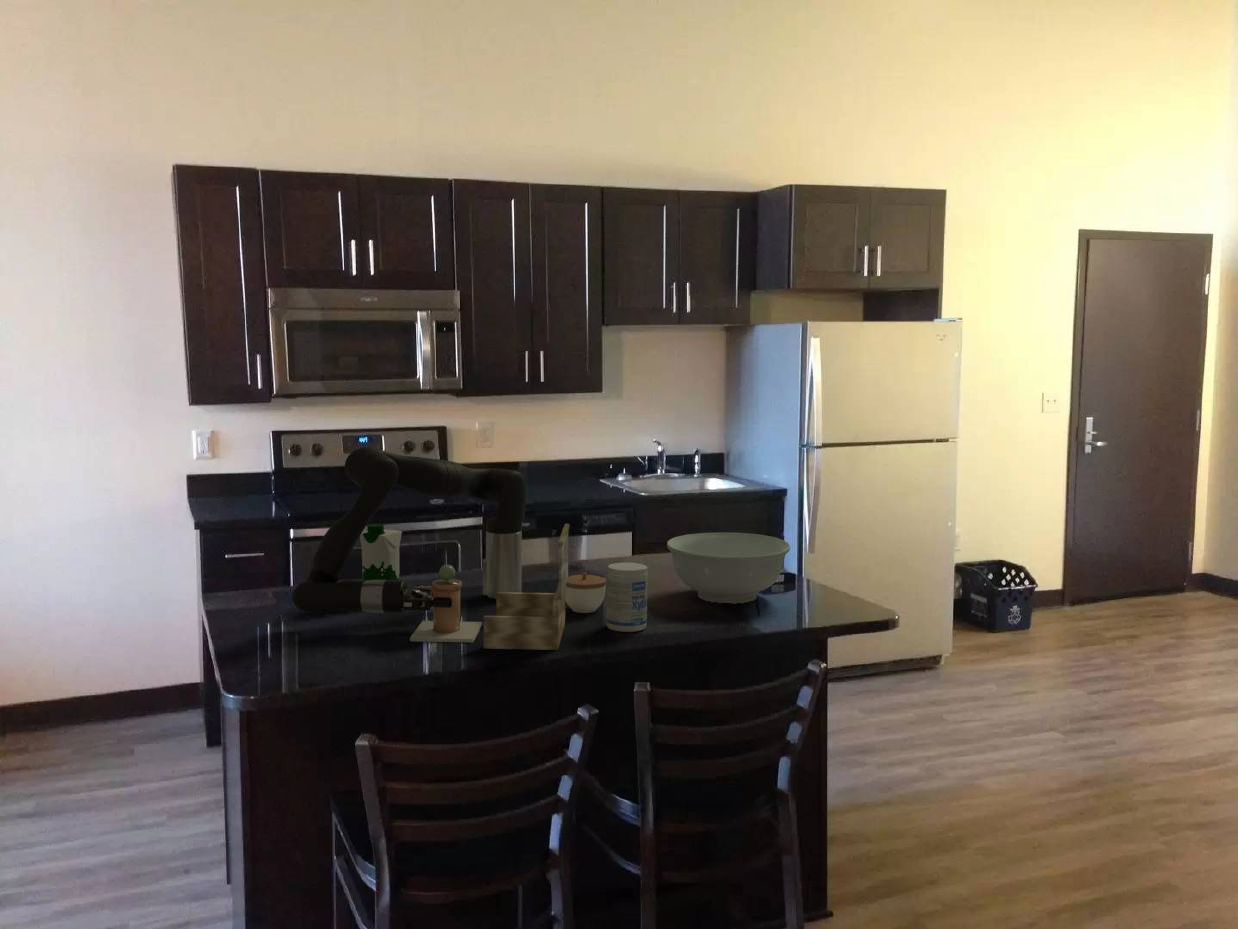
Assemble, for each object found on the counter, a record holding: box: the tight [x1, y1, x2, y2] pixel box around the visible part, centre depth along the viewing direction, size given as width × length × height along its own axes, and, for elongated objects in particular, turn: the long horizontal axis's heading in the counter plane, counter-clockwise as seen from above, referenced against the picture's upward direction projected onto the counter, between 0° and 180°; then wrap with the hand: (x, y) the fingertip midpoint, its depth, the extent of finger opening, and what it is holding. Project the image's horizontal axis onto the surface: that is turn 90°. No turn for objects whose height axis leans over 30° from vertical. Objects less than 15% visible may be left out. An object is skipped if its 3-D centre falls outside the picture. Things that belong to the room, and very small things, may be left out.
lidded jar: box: [565, 572, 607, 614], centre depth 263 cm, size 11×11×9 cm
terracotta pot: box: [431, 564, 463, 633], centre depth 241 cm, size 7×7×15 cm
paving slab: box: [409, 620, 483, 643], centre depth 241 cm, size 14×14×1 cm
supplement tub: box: [605, 562, 649, 633], centre depth 248 cm, size 10×10×15 cm
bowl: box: [666, 532, 791, 605], centre depth 278 cm, size 32×32×15 cm
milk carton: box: [359, 523, 403, 581], centre depth 268 cm, size 9×9×20 cm
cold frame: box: [483, 523, 570, 651], centre depth 240 cm, size 17×22×24 cm
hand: (455, 597), depth 240 cm, fingers open, 8 cm apart
